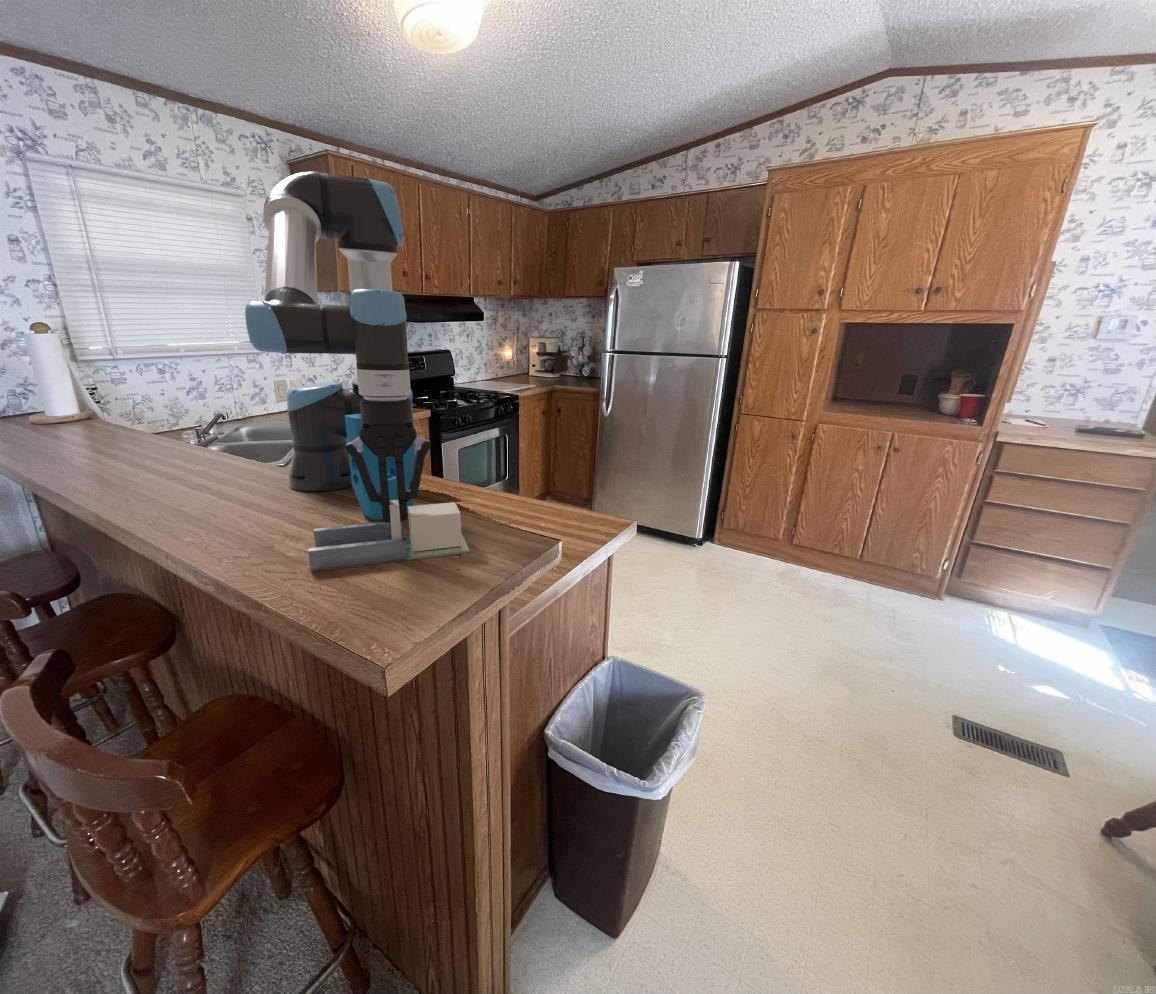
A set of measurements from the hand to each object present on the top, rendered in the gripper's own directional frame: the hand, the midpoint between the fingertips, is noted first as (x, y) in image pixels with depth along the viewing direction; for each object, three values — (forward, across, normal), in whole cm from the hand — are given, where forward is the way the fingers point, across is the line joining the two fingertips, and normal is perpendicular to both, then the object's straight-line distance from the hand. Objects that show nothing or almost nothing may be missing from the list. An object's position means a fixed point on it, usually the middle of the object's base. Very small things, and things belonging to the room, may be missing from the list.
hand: (396, 538), depth 85 cm
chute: (+2, -1, 0) cm, 2 cm away
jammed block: (+2, +6, 0) cm, 7 cm away
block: (+2, -1, +20) cm, 20 cm away
